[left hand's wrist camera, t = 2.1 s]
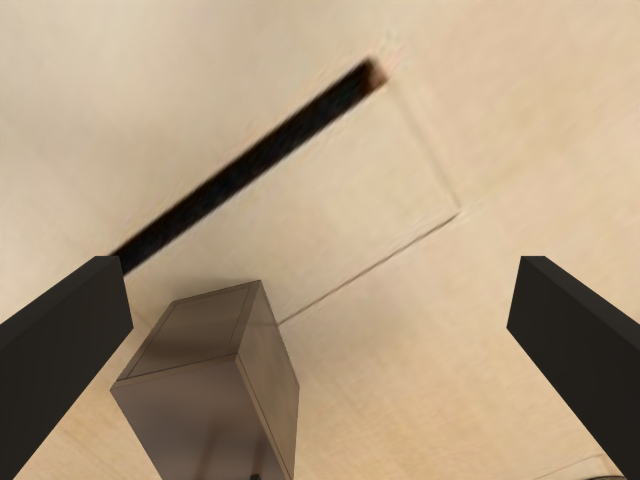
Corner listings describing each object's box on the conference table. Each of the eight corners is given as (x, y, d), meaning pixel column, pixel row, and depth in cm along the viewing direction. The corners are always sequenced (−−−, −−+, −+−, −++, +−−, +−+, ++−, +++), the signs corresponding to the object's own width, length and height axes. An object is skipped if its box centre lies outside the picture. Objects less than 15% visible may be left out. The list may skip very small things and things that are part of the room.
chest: (299, 386, 42) (293, 484, 31) (219, 403, 43) (186, 505, 32) (260, 279, 37) (237, 352, 27) (171, 301, 38) (115, 380, 28)
